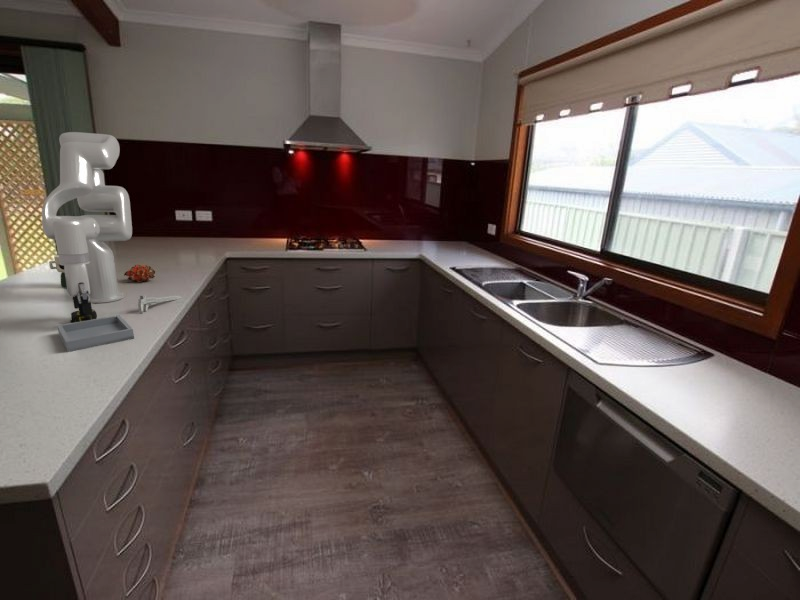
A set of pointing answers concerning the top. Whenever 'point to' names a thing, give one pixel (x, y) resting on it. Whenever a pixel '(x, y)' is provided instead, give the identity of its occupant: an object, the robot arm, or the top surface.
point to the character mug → (59, 270)
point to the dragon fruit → (140, 273)
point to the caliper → (153, 301)
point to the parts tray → (94, 332)
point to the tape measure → (77, 318)
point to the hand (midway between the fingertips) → (83, 311)
